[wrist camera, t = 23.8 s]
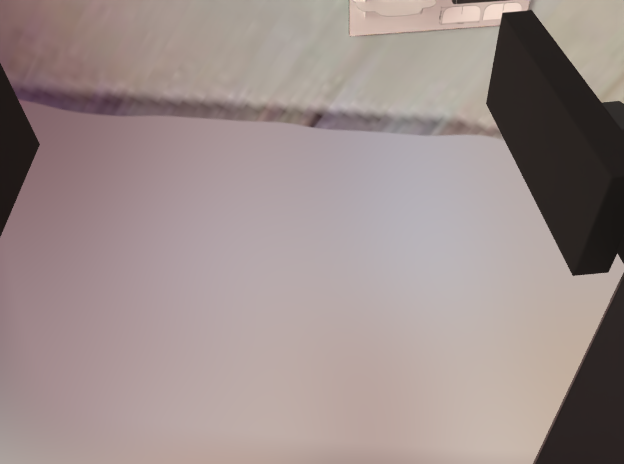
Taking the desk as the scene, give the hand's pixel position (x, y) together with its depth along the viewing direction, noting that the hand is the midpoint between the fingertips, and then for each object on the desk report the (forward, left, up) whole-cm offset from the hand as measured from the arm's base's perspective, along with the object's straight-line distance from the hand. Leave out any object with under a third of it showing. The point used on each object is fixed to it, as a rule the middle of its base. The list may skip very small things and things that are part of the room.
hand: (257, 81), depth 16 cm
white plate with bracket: (-17, +7, -33) cm, 38 cm away
